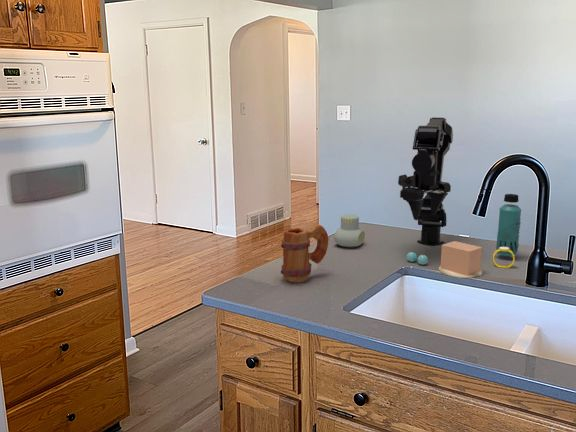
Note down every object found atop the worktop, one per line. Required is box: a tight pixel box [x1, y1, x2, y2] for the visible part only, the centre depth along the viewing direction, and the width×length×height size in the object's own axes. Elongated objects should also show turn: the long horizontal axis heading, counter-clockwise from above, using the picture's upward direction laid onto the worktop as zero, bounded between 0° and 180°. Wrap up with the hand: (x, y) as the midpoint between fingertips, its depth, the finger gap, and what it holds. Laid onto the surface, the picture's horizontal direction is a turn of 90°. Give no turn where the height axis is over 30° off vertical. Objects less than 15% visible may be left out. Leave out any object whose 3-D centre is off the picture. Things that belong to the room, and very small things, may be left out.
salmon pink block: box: [440, 240, 483, 276], centre depth 166 cm, size 6×9×7 cm
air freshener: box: [333, 214, 366, 248], centre depth 193 cm, size 11×8×10 cm
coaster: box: [438, 265, 483, 279], centre depth 167 cm, size 12×12×1 cm
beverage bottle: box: [495, 193, 522, 257], centre depth 177 cm, size 6×7×20 cm
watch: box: [492, 247, 516, 269], centre depth 170 cm, size 6×3×6 cm, turn 71°
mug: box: [280, 223, 329, 284], centre depth 160 cm, size 15×8×15 cm, turn 117°
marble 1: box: [406, 251, 418, 263], centre depth 176 cm, size 3×3×3 cm
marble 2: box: [416, 254, 428, 266], centre depth 173 cm, size 3×3×3 cm
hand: (424, 217), depth 180 cm, fingers open, 9 cm apart
